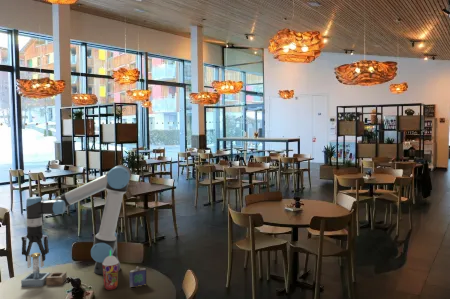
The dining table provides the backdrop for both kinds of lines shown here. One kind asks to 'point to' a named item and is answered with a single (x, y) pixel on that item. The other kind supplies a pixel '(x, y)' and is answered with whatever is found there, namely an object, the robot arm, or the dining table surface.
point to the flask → (137, 277)
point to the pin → (36, 265)
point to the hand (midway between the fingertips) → (35, 266)
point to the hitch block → (56, 278)
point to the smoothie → (110, 272)
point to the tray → (34, 280)
